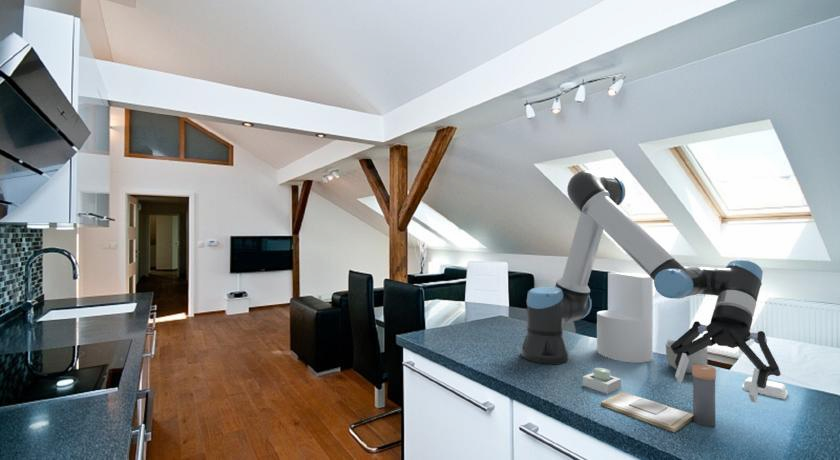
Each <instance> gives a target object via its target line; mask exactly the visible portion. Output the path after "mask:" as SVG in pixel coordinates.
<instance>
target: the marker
mask: <svg viewBox="0 0 840 460" xmlns="http://www.w3.org/2000/svg"><path fill="white" fill-rule="evenodd" d="M691 374H692V414H693V420H692V421H693V422H694V423H695V424H697V425H700V426H702V427H707V428H715V427H716V380H717V379H716V378H717V370H716V368H715V367H713V366H710V365H707V366H706V365H699V364H695V365H692V373H691Z"/></svg>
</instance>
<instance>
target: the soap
mask: <svg viewBox="0 0 840 460" xmlns="http://www.w3.org/2000/svg"><path fill="white" fill-rule="evenodd" d="M752 377H753V376H748V377H747V378H745V379H744V382H743V384H742V386H741V388H742V390H743V389H744V390H743V391H747V392H749V391H750V386H751V382H752ZM758 393H760V394H759V395H763V394H764V395H763V396H768V397H772V398H776V399H780V398H781V399H780V400H786V399H787V398H788V396H789V392H788V390H787V389H786V385H785V384H784V383H782V382H781V383H780V382H776V381H772V380H768V379H767V384H766V387H765V388H760V387H759V391H758Z"/></svg>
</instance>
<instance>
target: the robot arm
mask: <svg viewBox="0 0 840 460" xmlns="http://www.w3.org/2000/svg"><path fill="white" fill-rule="evenodd" d="M566 192H567V195H568V198H569V200H570V201H571V202H572V203H573V205H574V206H575V207H576V209H577V211H578V213H579V216H578V219H577V220H578V221H577V224H576V227H575V231H574V234H573V238H572V241H571V245H570V248H569V252H568V256H567V259H566V262H565V263H566V264H565V267H564V270H563V274H562V277H561V278H558V279H557V280H556V281H555V282H556V283H555V286H538V287H533V288H530V290H528V291H527V296H526V335H525V338H524V341H523V343H522V347H521V356H522V358H523V359H525V360H528V361H530V362H535V363H539V364H547V365H553V364H554V365H559V364H564V363H566V362H568V361H569V351H568V349H567V346H566V343H565V339H564V335H563V333H564V332H563V329H564V327H563V326H564V325H563V324H566V323H571V322H578V321H580V320H582V319H584V318H585V317H586V316H588V315H589V314H590V312H591V309H592V298H591V296H590V294H591V289H590V287H589V285H588V283H589V279H590V277H591V273H592V270H593V267H594V263H595V260H596V256H597V253H598V250H599V245H600V243H601V238H602V236H603V232H606V233H607V235H608V236H609V237H610V238H611V239H613V241H614V242H615V243H616V244H617V245H618V246H619V247H621V249H622V250H623V251H624V252H625V253H626V254H627V255H628V256H629V257H630V258H631V259H632V260H633V261H634V262H635V263H636V264H637V265H639V267H640V268H641V269H642V270H643V271H644V272H645V273H646V275H649V276H650V277H651V278H652V279H653V284H654V288H655V290H656V292H657V293H659V295H661V296H663V297H664V298H667V299H675V300H676V299H678V300H679V299H683V298H686V297H690V296H696V295H707V296H717V299H716V302H715V306H714V309H713V312H712V315H711V319H710V322H709V324H708V325H705V324H702V323H701V322H699V321H697V320H696V321H694V322H693V324H692V325H691V326H692V327H691V328H690V329H688V330H687V331H686V332H685V333H684V334H682V335H681V336H680V337H679V338H678V339H677V340H675V342H674V343H673V344H672V345H671V349H672V350H673V352H674V354H677V357H676V360H675V365H676V366H677V367H678V368H677V370H676V371H675V374H674V376H675V379H676V380H677V382H678V383H681V384H682V383H683V380H684V377H685V374H686V373H685V371H686V368H687V365H688V362H689V359H688V356H690V355H692V354H694V353H695V352H697V351H699V350H701V349H703V348H705V347H707V348H708V347H712V346H714V345H717V346H721V347H728V348H731V349H735V348H738V349H739V350H740V351H741V352H742V353H743V354H744V355H745V356H746V358H748V360H749V362H751V363H752V365H754V367H755V368H753V369H754V370H753V372H752V376H751V377H752V382H751V386H750V391H748V397H749V398H750V399H749V400H750V401H751V403H755V404H756V403H757V399H758V396H759V394H758V391H759V387H760V388H765V387H766V384H767V380H768V377H769V376H776V377H779V376H781V375H782V374H781V371H780V368H779V365H778V363H777V361H776V360H775V358H774V355H773V354H772V352H771V350H770V348H769V345H768V343H767V341H768V339H767V336H766V334H765V332H764V331H762V330H759V331H758V332H751V327H752V323H753V318H754V315H755V310H756V307H757V302H758V297H759V294H760V291H761V287H762V284H763V283H762V279H763V270H762V268H761V266H759V264H757V263H755V262H753V261H750V260H749V259H748V260H747V259H736V260H731V261H729V263H727V265H726V266H725V267H705V266H691V265H682V264H680V262H678V261H677V259H675V258H674V257H673V256H672V255H671V254H670V253H669V252H668V251H667V250H666V249H665V248H663V246H661V245H660V243H658V242H657V241H656V240H655V239H654V238H653V237H652V236H651V235H650V234H649V233H648V232H646V230H644V229H643V228H642V227H641V226H640V225H639V224H638V223H637V222H636V221H635V220H634V219H633V218H632V217H630V216H629V215H628V214H627V212H626V211H624V210H623V209H622V208H621V206H619V205H621V204H622V202H623V201H624V199H625V197H626V187H625V185H624V182H623V181H622V180H621V179H620V177H617V176H615V175H614V174H610V173H608V172H606V173H605V172H601V171H595V170H591V169H587V170H581V171H579V172H577V173H575V174H574V175H573V176H572V177H571V178H570V179H569V181H568V184H567V191H566ZM704 332H706V333H704ZM700 334H701V335H702V334H703V335H702V336H701V337H699V336H700ZM698 337H699V338H698ZM751 339H752V340H754V342H755V343H757V344H758V345H759V348H760V350H761V352H762V354H763V357H764V358H765V360H766V362H767V364H768V366H767V365H766V364H765V363H764V362H763V360H761V359H760V357H759V356H758V355H757V354H756V353H755V351H754V350H752V348H751V347H750V346H749V344H747V342H748V341H750V340H751Z"/></svg>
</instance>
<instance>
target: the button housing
mask: <svg viewBox="0 0 840 460" xmlns="http://www.w3.org/2000/svg"><path fill="white" fill-rule="evenodd" d="M582 386H583V387H587V388H589V389H593V390H595V391H598V392H601V393H603V394H606V395H609V394H611V393H614V392H615V391H617V390H620V389H622V378H619V377H616V376H612V375H610V380H609V381H607V382H604V381H601V380H598V379H595V378H594V371H592V372H591V373H588V374H586V375H583V376H582Z"/></svg>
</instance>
